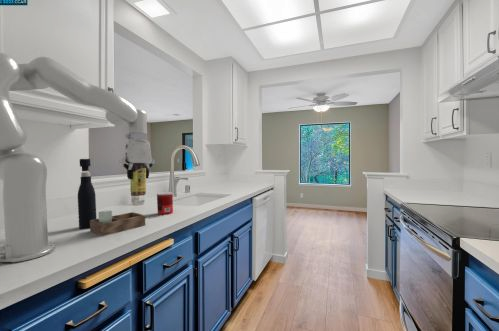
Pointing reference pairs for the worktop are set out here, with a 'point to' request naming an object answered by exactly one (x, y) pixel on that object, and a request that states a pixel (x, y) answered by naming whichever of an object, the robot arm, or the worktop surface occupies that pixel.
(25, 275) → the worktop surface
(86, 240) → the worktop surface
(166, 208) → the canned food
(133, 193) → the sauce bottle
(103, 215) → the pale green rounded block
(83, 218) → the black water bottle
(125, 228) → the walnut caddy
